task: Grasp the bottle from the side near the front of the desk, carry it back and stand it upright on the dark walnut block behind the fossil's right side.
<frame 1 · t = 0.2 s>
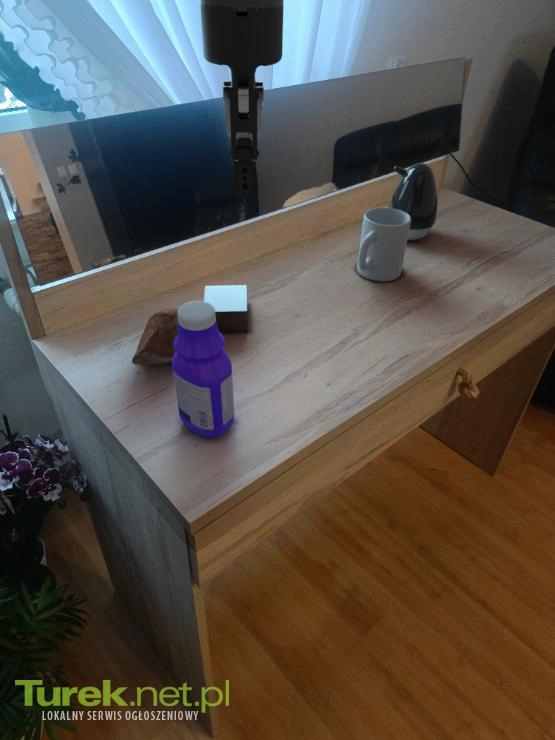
hand: (245, 182, 55), 27 cm above the table, tool pointing down, fingers open, 8 cm apart
walnut block: (226, 318, 83), on the table
fossil: (169, 354, 75), on the table
bottle: (208, 423, 64), on the table
mug: (374, 275, 95), on the table
pump dispenser: (407, 235, 109), on the table
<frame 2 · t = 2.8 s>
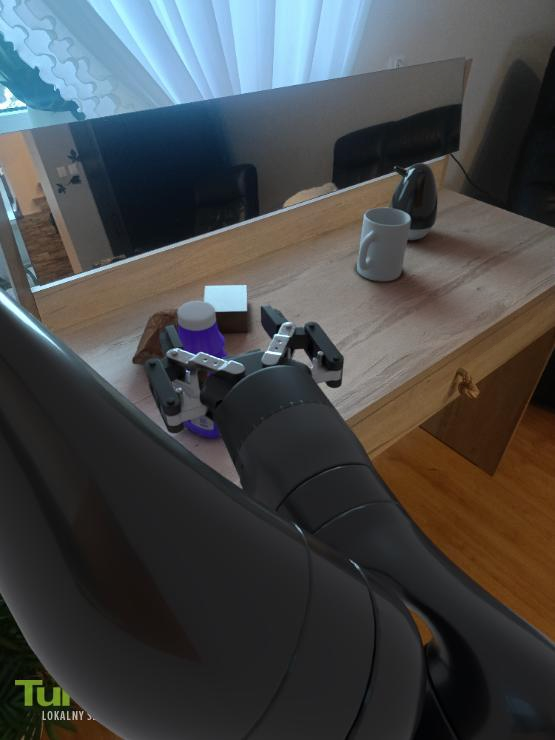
hand: (218, 324, 43), 22 cm above the table, tool horizontal, fingers open, 8 cm apart
nothing on the table moved.
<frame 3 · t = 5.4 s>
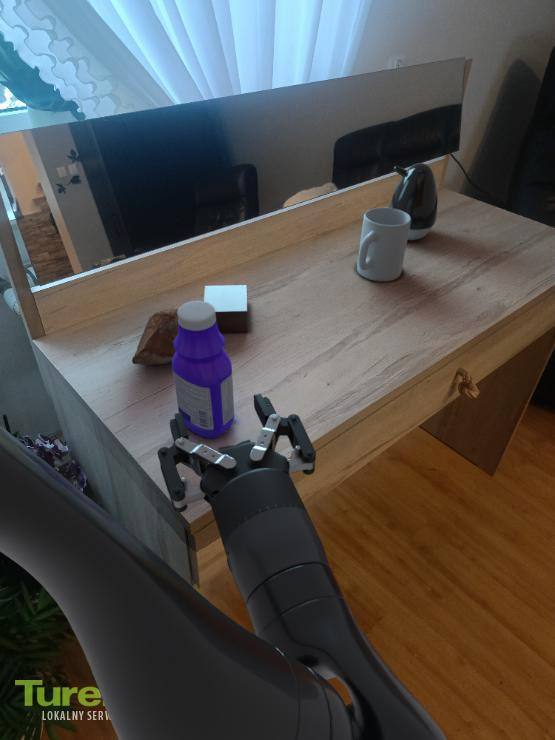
hand: (218, 408, 52), 10 cm above the table, tool horizontal, fingers open, 8 cm apart
nothing on the table moved.
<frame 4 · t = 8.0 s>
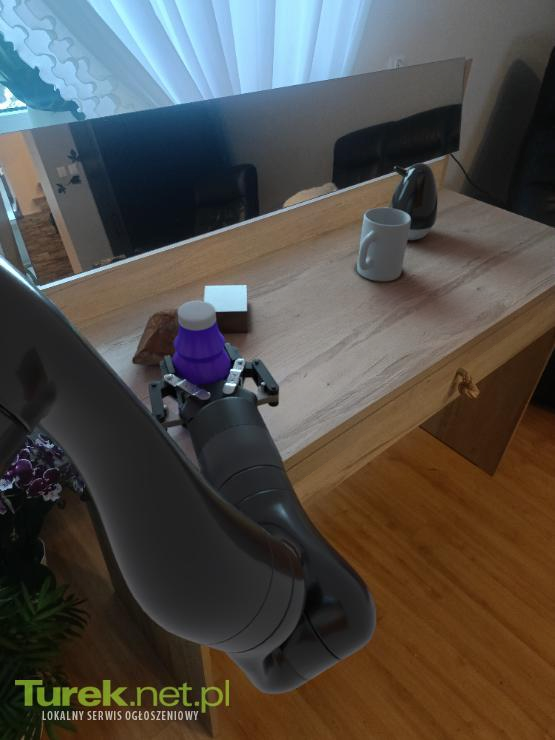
hand: (197, 355, 60), 10 cm above the table, tool horizontal, fingers closed on bottle, 6 cm apart
bottle: (208, 423, 64), on the table, touching gripper
everything else where it was.
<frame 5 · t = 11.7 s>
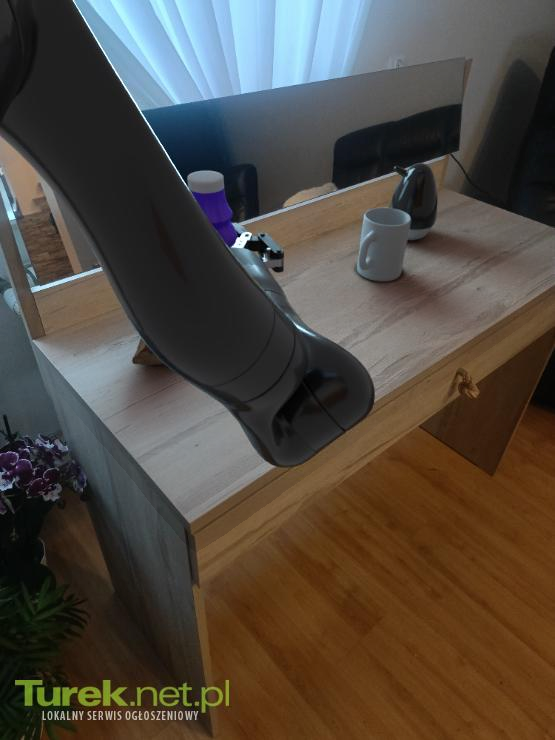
hand: (205, 234, 62), 20 cm above the table, tool horizontal, fingers closed on bottle, 6 cm apart
bottle: (215, 308, 67), point 10 cm above the table, touching gripper
everything else where it was.
when the fingers open (14 cm above the table, at t = 15.5 s): bottle stays where it is, resting on walnut block.
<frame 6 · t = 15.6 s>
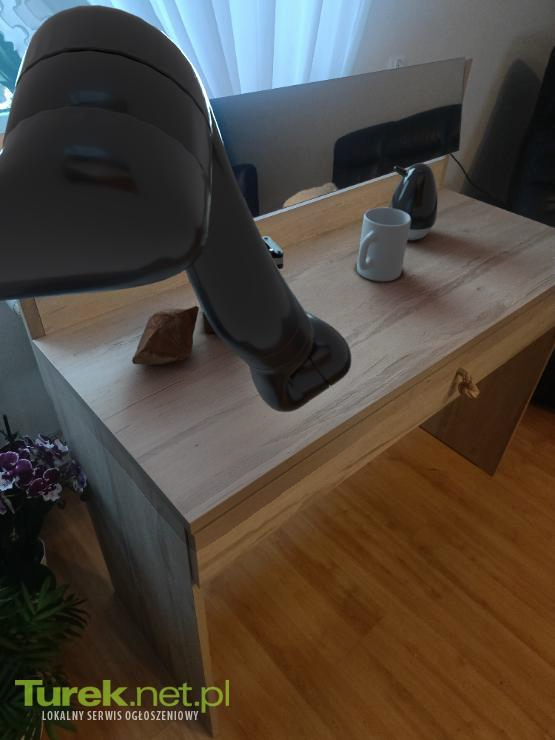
hand: (218, 237, 75), 14 cm above the table, tool horizontal, fingers open, 6 cm apart
bottle: (226, 299, 80), point 4 cm above the table, touching walnut block
everything else where it was.
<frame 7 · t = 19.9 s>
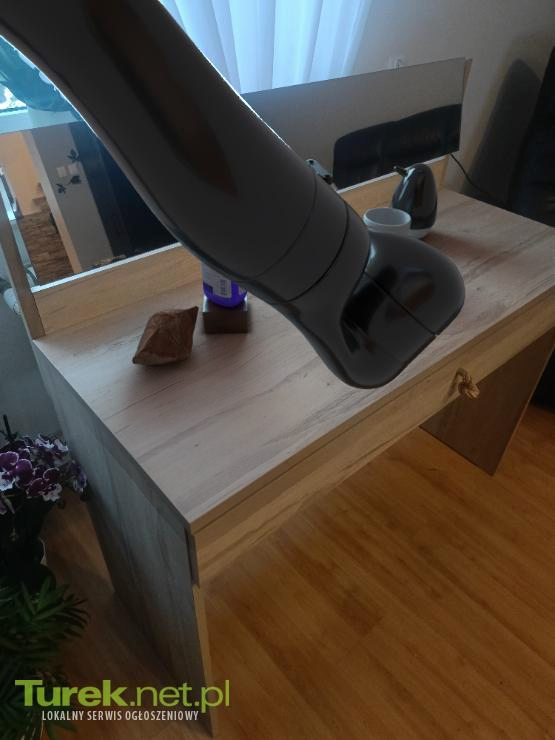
hand: (240, 163, 56), 28 cm above the table, tool horizontal, fingers open, 8 cm apart
nothing on the table moved.
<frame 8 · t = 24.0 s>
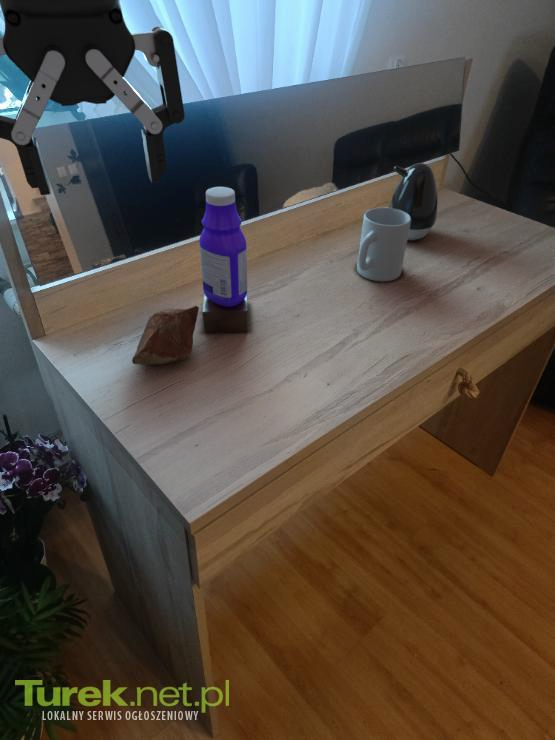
hand: (101, 185, 40), 32 cm above the table, tool pointing down, fingers open, 8 cm apart
nothing on the table moved.
at the end: bottle 0.2 cm off-centre on the walnut block, point 3.8 cm above the walnut block's base; bottle tilted 0°; the gripper is holding nothing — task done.
